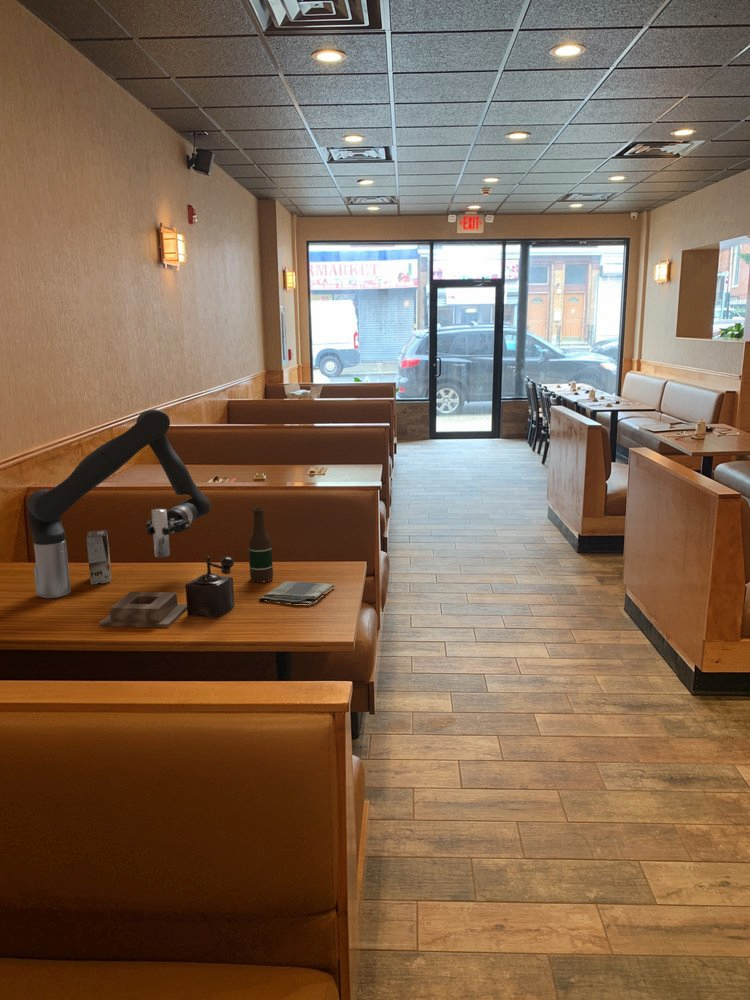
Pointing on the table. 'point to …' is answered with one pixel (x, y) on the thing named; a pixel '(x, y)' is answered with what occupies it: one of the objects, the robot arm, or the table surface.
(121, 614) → the socket block
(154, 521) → the pin
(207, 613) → the dark manual coffee grinder
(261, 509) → the beer bottle
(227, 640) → the table surface
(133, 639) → the table surface
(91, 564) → the coffee box
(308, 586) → the dish towel
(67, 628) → the table surface
